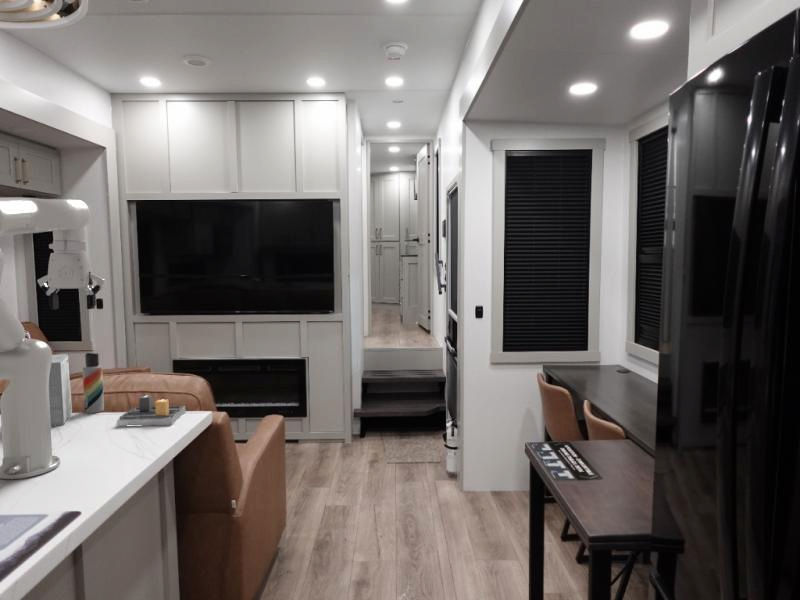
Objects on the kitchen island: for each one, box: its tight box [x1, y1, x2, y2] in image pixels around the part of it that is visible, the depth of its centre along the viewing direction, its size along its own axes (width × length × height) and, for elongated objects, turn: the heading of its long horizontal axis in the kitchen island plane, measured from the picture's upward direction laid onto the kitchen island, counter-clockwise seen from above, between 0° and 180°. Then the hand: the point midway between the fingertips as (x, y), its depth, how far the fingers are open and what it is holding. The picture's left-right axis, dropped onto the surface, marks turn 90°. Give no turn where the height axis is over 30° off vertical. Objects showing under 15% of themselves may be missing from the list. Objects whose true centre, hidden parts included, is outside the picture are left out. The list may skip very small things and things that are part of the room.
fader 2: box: [154, 398, 170, 415], centre depth 162 cm, size 3×3×5 cm
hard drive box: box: [49, 353, 73, 427], centre depth 164 cm, size 16×8×20 cm, turn 25°
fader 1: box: [138, 394, 154, 411], centre depth 167 cm, size 3×3×5 cm
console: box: [116, 405, 187, 427], centre depth 165 cm, size 14×16×3 cm
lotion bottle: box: [82, 352, 105, 414], centre depth 174 cm, size 6×6×20 cm
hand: (72, 309), depth 146 cm, fingers open, 9 cm apart
